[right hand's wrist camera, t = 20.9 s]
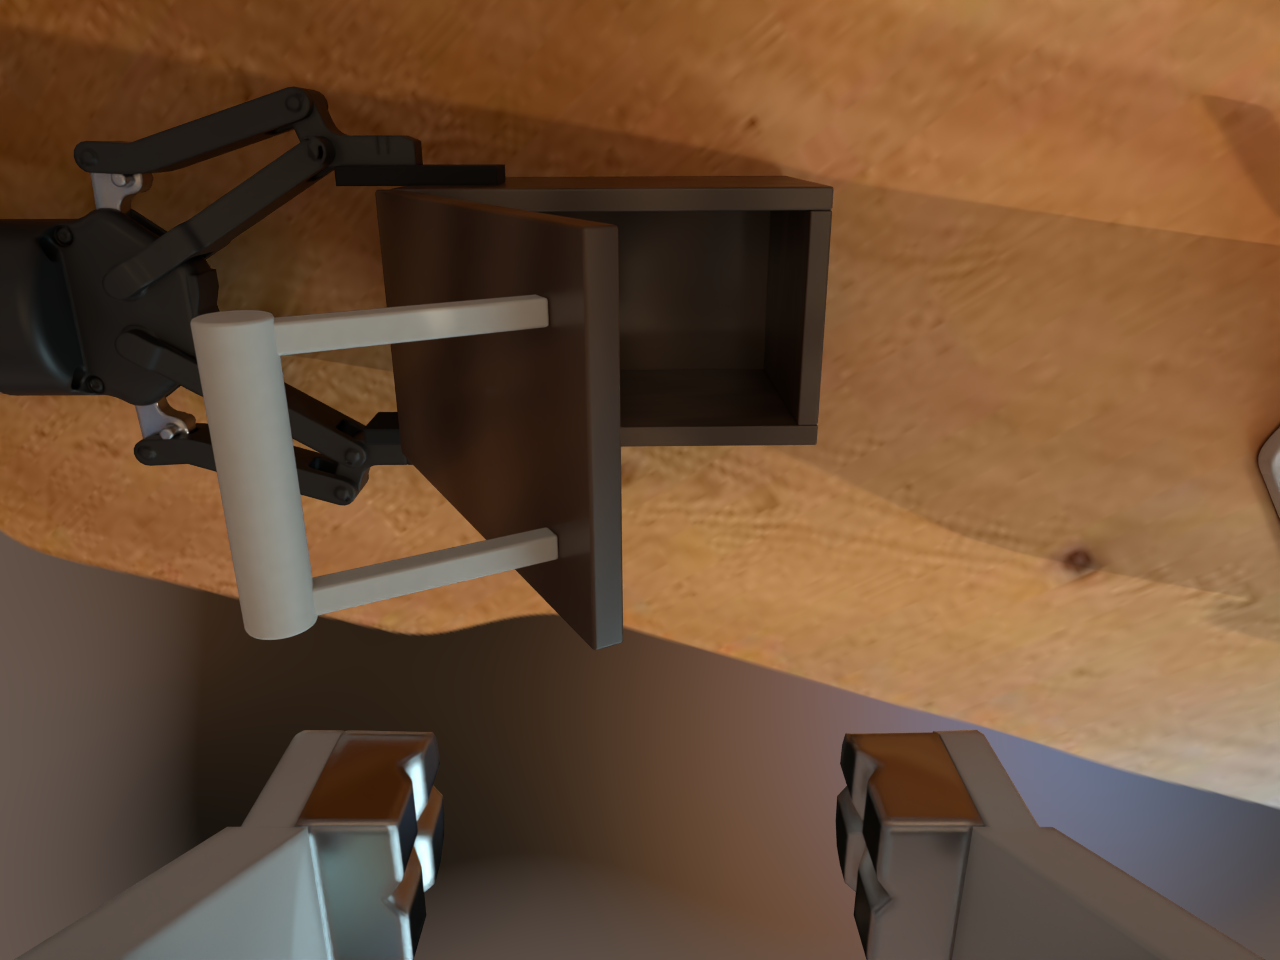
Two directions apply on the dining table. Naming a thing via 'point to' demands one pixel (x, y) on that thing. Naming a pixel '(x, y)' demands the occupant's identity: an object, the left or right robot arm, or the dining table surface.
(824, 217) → the chest
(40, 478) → the dining table surface
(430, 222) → the lid
